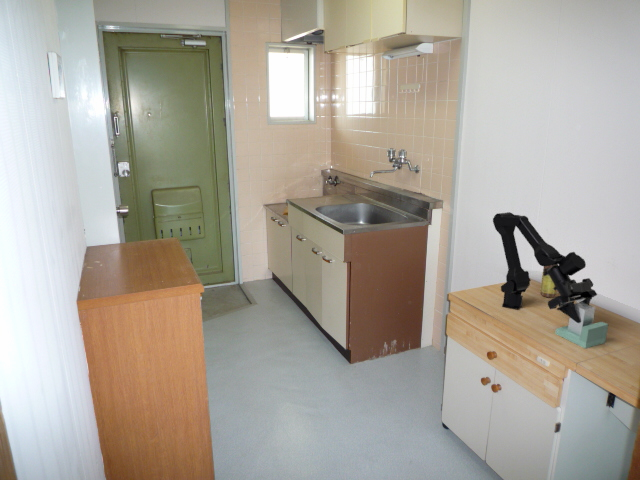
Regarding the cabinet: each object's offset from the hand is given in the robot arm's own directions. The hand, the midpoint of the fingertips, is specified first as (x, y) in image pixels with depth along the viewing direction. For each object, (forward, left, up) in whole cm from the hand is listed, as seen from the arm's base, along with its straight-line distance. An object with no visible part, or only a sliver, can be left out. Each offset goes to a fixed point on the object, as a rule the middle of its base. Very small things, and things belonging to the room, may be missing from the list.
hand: (584, 321), depth 164 cm
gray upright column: (-1, +1, -5) cm, 5 cm away
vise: (-1, +1, -7) cm, 7 cm away
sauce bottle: (-14, +39, -7) cm, 42 cm away
